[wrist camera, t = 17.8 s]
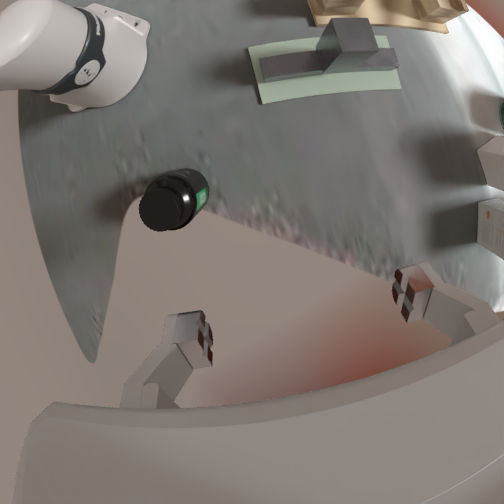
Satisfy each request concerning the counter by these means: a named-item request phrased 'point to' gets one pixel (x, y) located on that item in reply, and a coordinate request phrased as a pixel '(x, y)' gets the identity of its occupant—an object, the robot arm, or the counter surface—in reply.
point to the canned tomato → (502, 113)
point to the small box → (491, 225)
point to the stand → (391, 12)
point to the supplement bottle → (173, 200)
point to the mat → (318, 82)
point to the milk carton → (493, 161)
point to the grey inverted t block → (333, 53)
